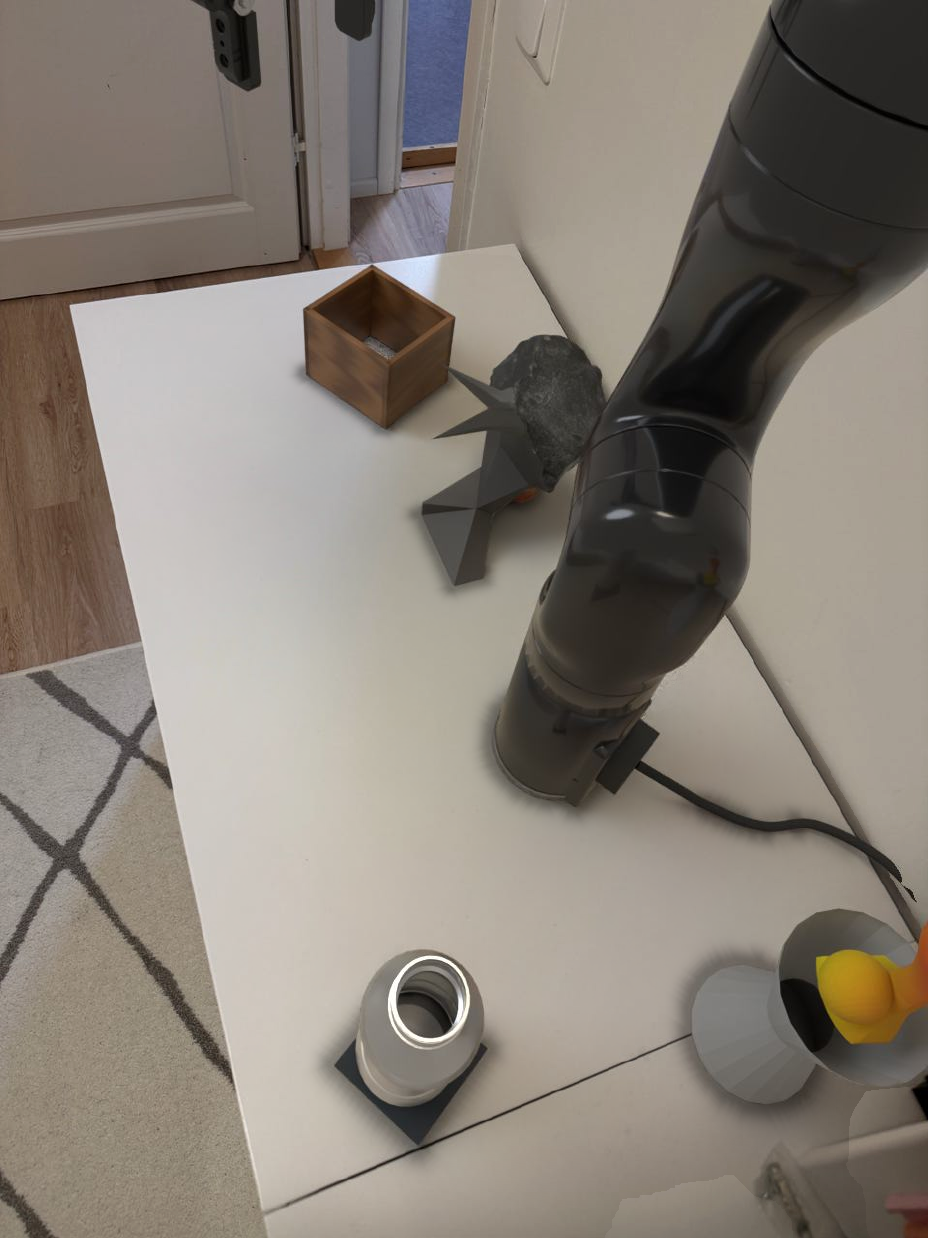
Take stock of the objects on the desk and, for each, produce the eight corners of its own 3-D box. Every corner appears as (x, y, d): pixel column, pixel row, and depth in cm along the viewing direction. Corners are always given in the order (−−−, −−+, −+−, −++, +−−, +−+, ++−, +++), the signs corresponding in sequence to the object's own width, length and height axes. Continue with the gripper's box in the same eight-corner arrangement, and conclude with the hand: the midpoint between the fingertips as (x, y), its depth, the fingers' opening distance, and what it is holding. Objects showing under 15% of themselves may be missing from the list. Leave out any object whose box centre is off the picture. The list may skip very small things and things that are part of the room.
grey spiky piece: (608, 544, 82) (668, 401, 67) (453, 585, 78) (481, 441, 62) (544, 434, 88) (586, 280, 73) (399, 466, 84) (411, 309, 69)
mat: (486, 1049, 58) (488, 1048, 58) (417, 1146, 55) (418, 1146, 54) (405, 976, 60) (406, 975, 60) (334, 1066, 57) (334, 1065, 56)
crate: (447, 380, 91) (455, 316, 84) (385, 429, 86) (388, 365, 80) (370, 329, 94) (372, 263, 87) (305, 374, 89) (302, 308, 82)
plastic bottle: (461, 1001, 59) (507, 931, 42) (448, 1117, 55) (494, 1090, 39) (364, 988, 59) (373, 911, 42) (346, 1103, 55) (347, 1070, 38)
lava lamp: (800, 961, 64) (1193, 774, 34) (832, 1105, 59) (1321, 1031, 29) (678, 963, 63) (975, 771, 33) (701, 1109, 58) (1070, 1037, 28)
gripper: (213, -331, 31) (253, 135, 44) (469, -369, 37) (435, 44, 51) (69, -393, 33) (150, 72, 46) (337, -419, 39) (339, -7, 53)
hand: (300, 57), depth 49 cm, fingers open, 8 cm apart
